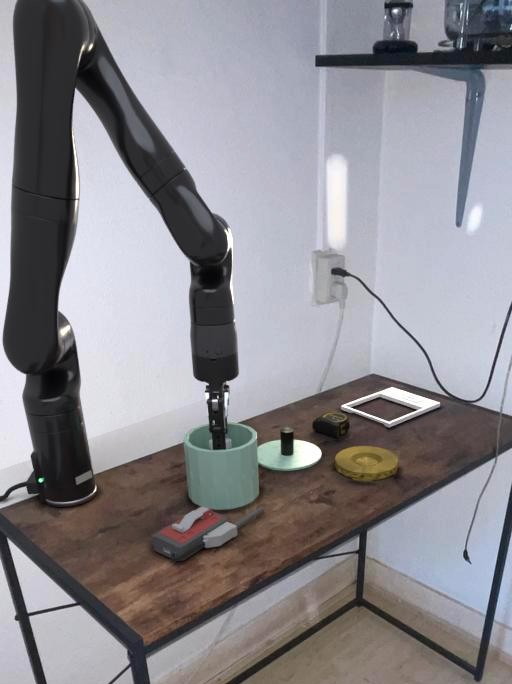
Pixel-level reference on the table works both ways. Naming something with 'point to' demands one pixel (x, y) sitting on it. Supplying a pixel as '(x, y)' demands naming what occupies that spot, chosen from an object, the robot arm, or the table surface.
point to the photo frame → (398, 397)
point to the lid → (288, 453)
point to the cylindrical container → (222, 468)
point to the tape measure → (331, 424)
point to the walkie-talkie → (197, 533)
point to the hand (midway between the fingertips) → (220, 442)
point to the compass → (366, 463)
